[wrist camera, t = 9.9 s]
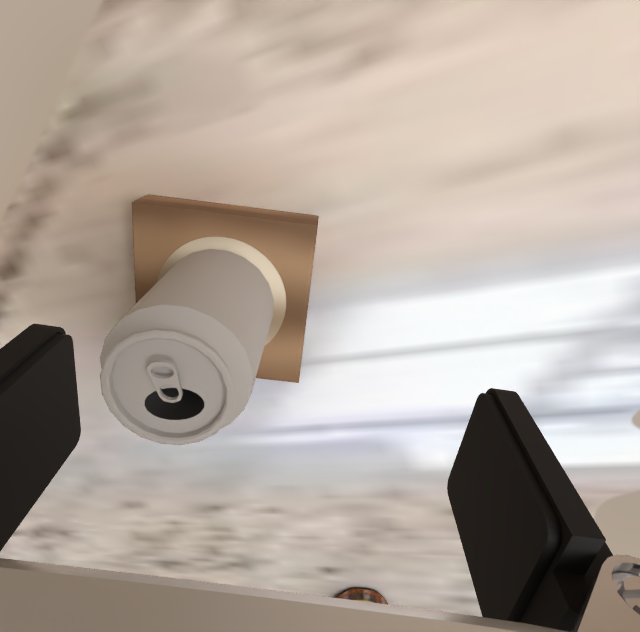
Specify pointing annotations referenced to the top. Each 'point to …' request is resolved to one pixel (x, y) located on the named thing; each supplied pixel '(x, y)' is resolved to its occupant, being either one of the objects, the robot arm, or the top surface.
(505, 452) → the robot arm
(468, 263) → the top surface
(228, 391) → the can
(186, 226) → the base
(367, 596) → the sauce bottle
